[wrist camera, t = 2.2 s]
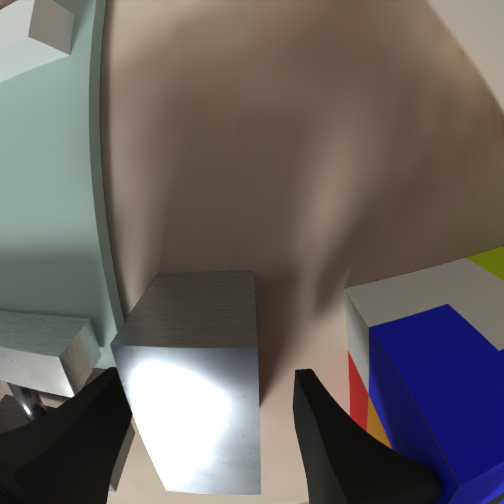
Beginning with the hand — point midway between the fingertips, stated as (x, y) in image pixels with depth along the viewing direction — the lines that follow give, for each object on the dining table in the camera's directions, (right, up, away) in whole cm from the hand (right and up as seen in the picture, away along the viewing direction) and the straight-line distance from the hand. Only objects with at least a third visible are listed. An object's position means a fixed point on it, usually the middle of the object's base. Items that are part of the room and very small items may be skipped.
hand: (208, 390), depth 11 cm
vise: (-10, +8, 0) cm, 13 cm away
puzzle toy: (+12, 0, +3) cm, 12 cm away
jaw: (-10, -1, +2) cm, 10 cm away
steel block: (0, +1, +3) cm, 3 cm away
